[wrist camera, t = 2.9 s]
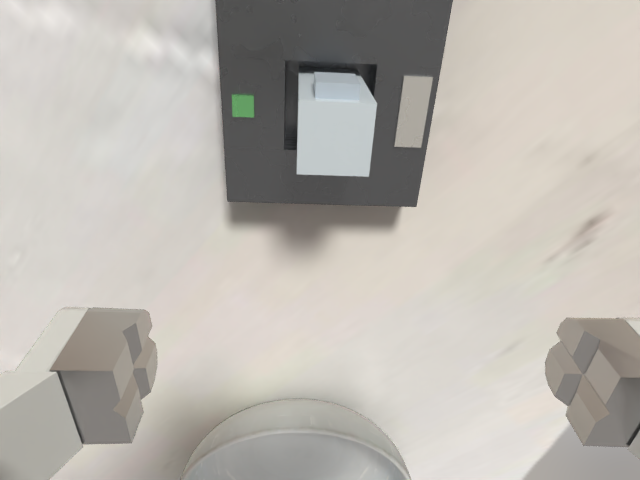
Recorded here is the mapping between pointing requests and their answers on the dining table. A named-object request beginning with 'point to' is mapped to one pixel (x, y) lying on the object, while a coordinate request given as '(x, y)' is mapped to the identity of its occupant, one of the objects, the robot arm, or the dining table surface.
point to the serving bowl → (296, 446)
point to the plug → (334, 122)
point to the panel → (337, 53)
